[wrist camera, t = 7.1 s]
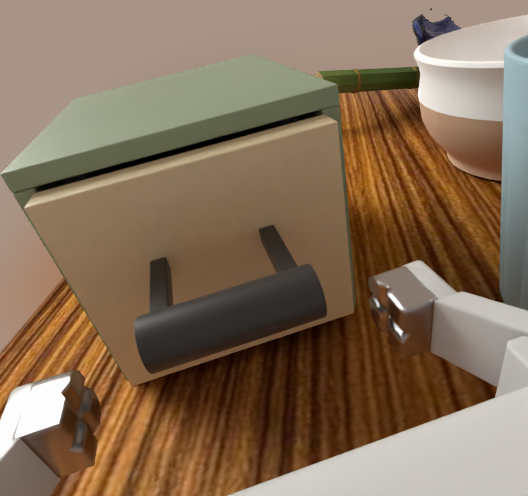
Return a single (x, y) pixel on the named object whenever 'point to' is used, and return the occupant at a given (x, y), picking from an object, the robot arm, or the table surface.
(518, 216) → the cup
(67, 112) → the cabinet
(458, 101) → the bowl
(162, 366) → the beige drawer
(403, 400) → the table surface
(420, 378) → the table surface
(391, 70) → the decorative plant
